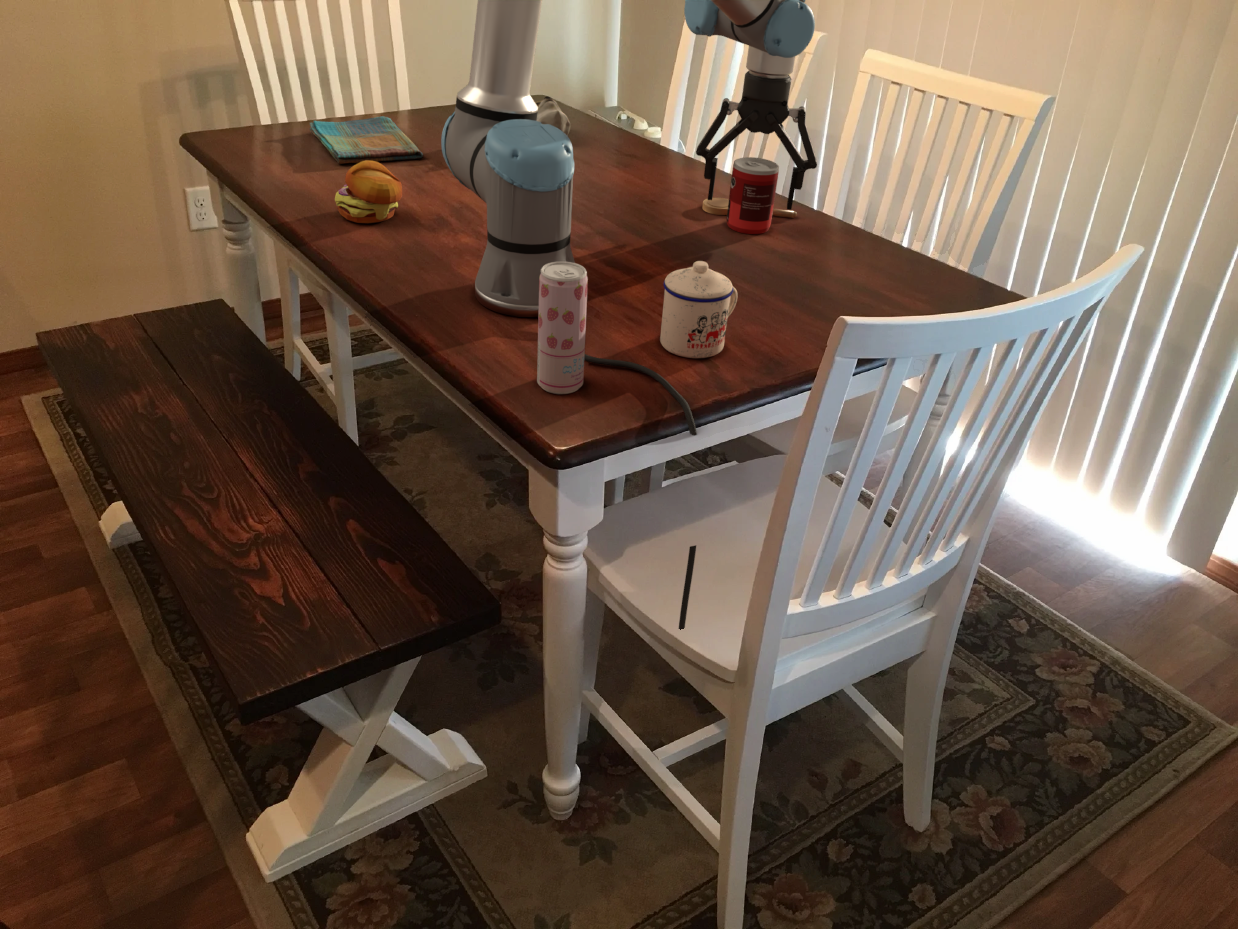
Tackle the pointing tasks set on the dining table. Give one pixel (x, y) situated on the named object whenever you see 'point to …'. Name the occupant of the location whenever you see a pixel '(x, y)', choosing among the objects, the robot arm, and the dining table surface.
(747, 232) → the canned food
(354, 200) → the cheeseburger
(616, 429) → the dining table surface
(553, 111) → the ceramic sculpture
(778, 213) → the spoon
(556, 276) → the beverage can
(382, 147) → the dish towel
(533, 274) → the robot arm
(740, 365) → the dining table surface
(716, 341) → the teacup with lid
